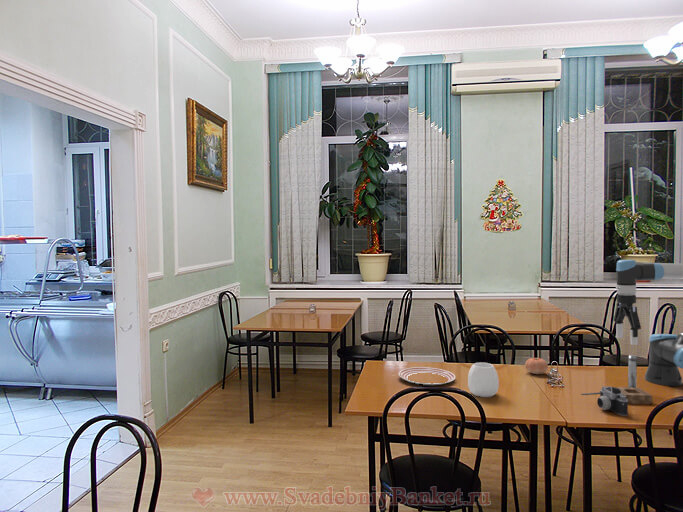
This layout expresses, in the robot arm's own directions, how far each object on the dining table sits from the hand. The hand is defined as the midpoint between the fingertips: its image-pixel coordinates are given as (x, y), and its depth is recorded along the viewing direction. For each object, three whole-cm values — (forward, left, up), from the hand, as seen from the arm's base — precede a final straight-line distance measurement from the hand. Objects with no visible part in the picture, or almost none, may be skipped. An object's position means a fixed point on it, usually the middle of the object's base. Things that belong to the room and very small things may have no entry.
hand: (626, 341), depth 224 cm
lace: (+16, +5, -23) cm, 28 cm away
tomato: (+32, -27, -23) cm, 47 cm away
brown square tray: (+4, +12, -23) cm, 26 cm away
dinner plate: (+89, -12, -23) cm, 92 cm away
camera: (+19, +26, -23) cm, 40 cm away
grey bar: (-2, 0, -23) cm, 23 cm away
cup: (+66, +9, -23) cm, 70 cm away
